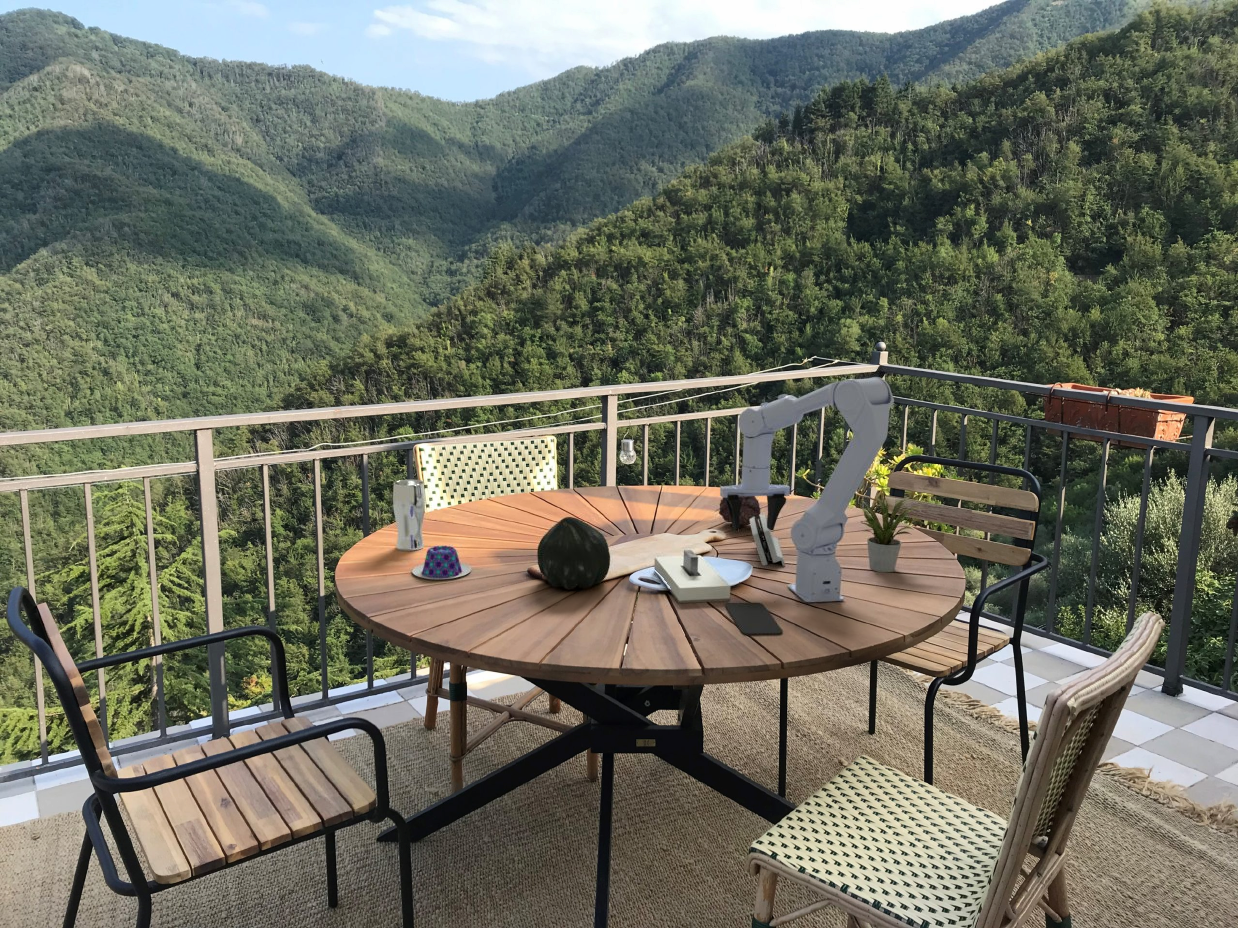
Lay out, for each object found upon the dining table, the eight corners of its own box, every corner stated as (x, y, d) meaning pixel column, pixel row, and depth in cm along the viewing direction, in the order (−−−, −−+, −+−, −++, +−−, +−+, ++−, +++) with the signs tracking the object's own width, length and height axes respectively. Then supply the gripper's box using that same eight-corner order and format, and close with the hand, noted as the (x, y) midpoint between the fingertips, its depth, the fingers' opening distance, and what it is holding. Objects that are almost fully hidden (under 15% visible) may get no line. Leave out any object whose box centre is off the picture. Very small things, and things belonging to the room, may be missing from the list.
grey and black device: (785, 566, 188) (772, 523, 186) (764, 572, 189) (750, 529, 187) (780, 545, 204) (767, 505, 203) (760, 550, 205) (748, 511, 203)
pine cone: (771, 536, 212) (773, 496, 210) (732, 537, 210) (734, 497, 208) (746, 517, 229) (747, 481, 227) (710, 519, 227) (711, 482, 225)
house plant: (920, 562, 193) (927, 491, 190) (924, 581, 180) (931, 505, 177) (854, 556, 196) (859, 486, 193) (853, 574, 183) (859, 499, 180)
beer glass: (387, 548, 194) (385, 483, 192) (408, 541, 201) (407, 478, 198) (411, 553, 191) (410, 487, 188) (432, 545, 197) (431, 481, 195)
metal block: (697, 586, 172) (698, 557, 171) (689, 586, 172) (690, 557, 171) (689, 578, 177) (691, 549, 176) (682, 578, 176) (683, 550, 175)
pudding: (405, 569, 181) (404, 544, 180) (460, 561, 187) (460, 538, 186) (421, 585, 171) (421, 560, 170) (479, 577, 177) (479, 553, 176)
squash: (607, 543, 183) (563, 495, 177) (634, 566, 169) (587, 515, 163) (558, 590, 181) (512, 543, 175) (581, 617, 168) (532, 567, 162)
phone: (742, 633, 148) (723, 602, 163) (742, 638, 149) (723, 606, 163) (784, 632, 149) (762, 602, 164) (784, 637, 149) (761, 606, 164)
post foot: (729, 600, 166) (730, 585, 165) (679, 603, 164) (679, 587, 163) (699, 568, 185) (700, 555, 184) (654, 570, 183) (654, 557, 182)
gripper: (782, 461, 184) (778, 523, 186) (716, 462, 181) (714, 525, 184) (795, 468, 177) (791, 532, 180) (727, 469, 174) (724, 534, 177)
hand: (753, 529), depth 181 cm, fingers open, 7 cm apart
